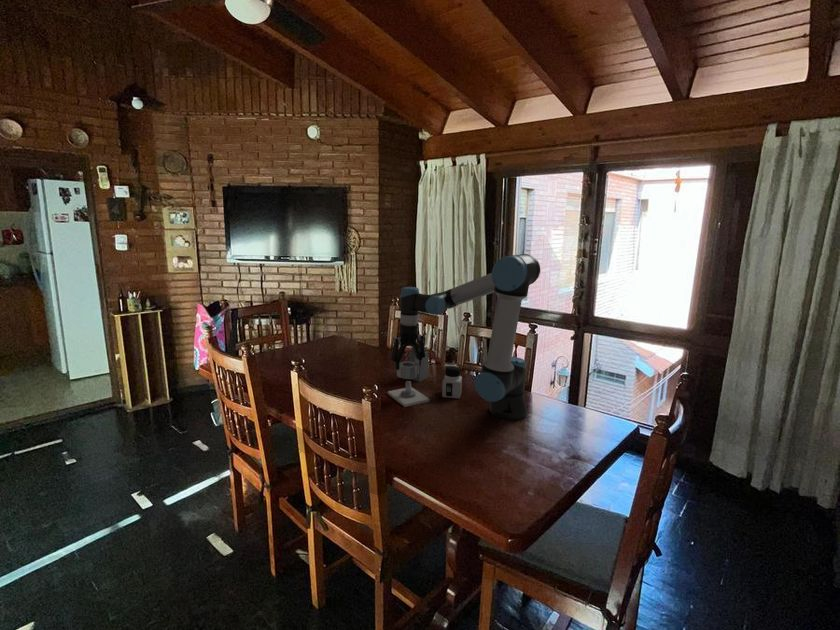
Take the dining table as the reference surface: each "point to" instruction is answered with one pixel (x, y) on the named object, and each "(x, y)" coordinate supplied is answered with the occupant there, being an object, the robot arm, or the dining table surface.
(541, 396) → the dining table surface
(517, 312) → the robot arm
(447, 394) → the container
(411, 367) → the hub
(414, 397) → the shaft block
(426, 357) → the perfume bottle
